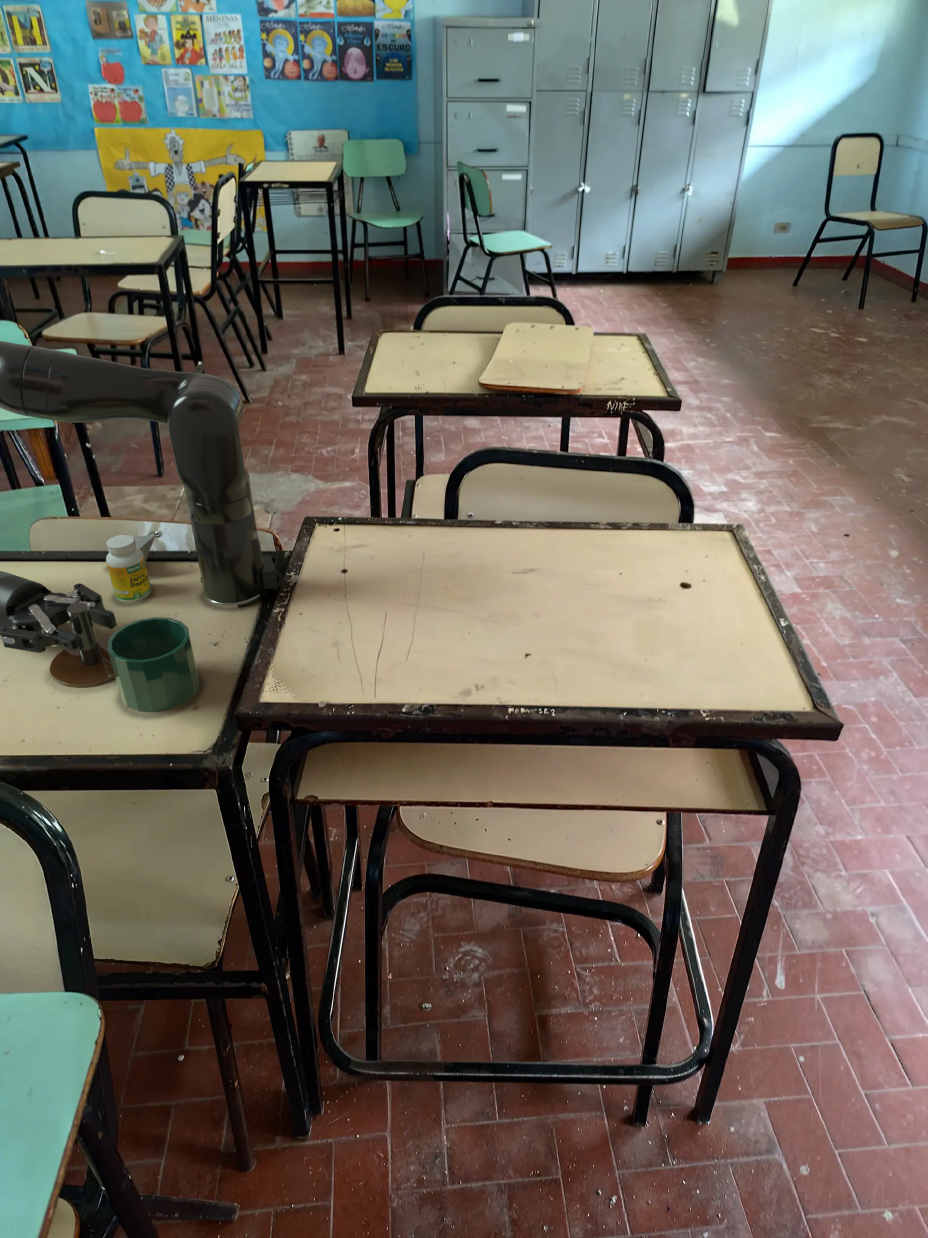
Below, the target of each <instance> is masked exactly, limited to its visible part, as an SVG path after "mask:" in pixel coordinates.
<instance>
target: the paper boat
mask: <svg viewBox="0 0 928 1238" xmlns="http://www.w3.org/2000/svg"><path fill="white" fill-rule="evenodd" d="M153 533H154V530H151V531H150V532H149V533H148V534H147V535H140V536H133V537H134V539H135V543H136V548H138V549H140V550H141V551H142V553H143V556H144V560H145V563H146V562H147V560H148V557H149V554H150V551H151V549H152V546H153V544H154V541H155V538H156V535H157V534H153Z"/></svg>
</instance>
